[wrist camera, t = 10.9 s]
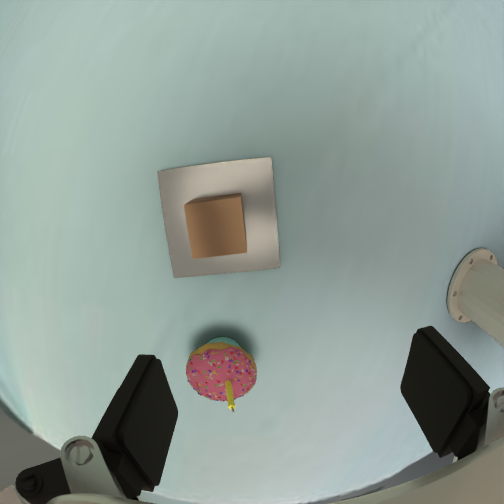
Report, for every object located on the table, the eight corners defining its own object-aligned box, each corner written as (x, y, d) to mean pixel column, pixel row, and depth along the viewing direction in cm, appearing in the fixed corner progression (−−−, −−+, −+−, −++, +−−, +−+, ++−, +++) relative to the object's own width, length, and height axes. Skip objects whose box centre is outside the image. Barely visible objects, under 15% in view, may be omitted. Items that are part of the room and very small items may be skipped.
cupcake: (226, 313, 34) (220, 377, 22) (268, 355, 36) (278, 422, 24) (178, 346, 35) (158, 411, 24) (220, 384, 37) (215, 449, 26)
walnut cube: (241, 192, 29) (240, 197, 24) (246, 239, 30) (247, 252, 25) (193, 199, 29) (183, 204, 24) (200, 245, 30) (192, 259, 25)
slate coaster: (270, 157, 29) (271, 157, 28) (278, 264, 32) (280, 267, 31) (160, 171, 29) (157, 171, 28) (176, 274, 32) (174, 278, 31)
